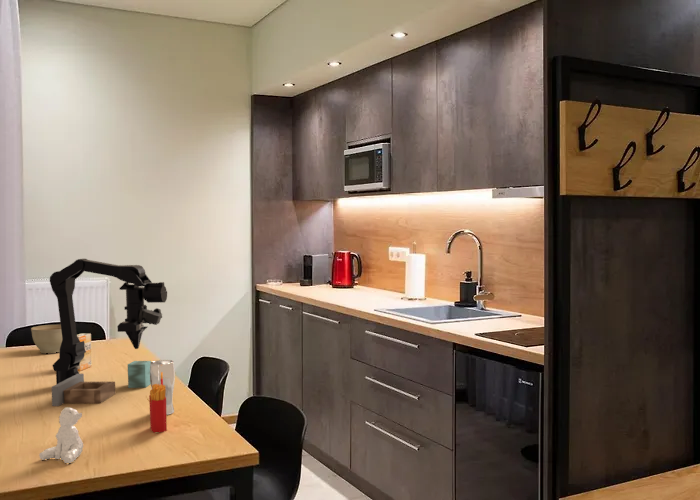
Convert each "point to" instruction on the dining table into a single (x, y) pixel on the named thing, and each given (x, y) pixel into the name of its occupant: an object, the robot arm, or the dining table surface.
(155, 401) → the french fries
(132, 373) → the pale teal cube
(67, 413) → the sitting furry creature
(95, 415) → the dining table surface
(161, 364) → the beer glass
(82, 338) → the supplement box
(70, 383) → the slab
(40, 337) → the planter bowl
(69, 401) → the brown square frame
